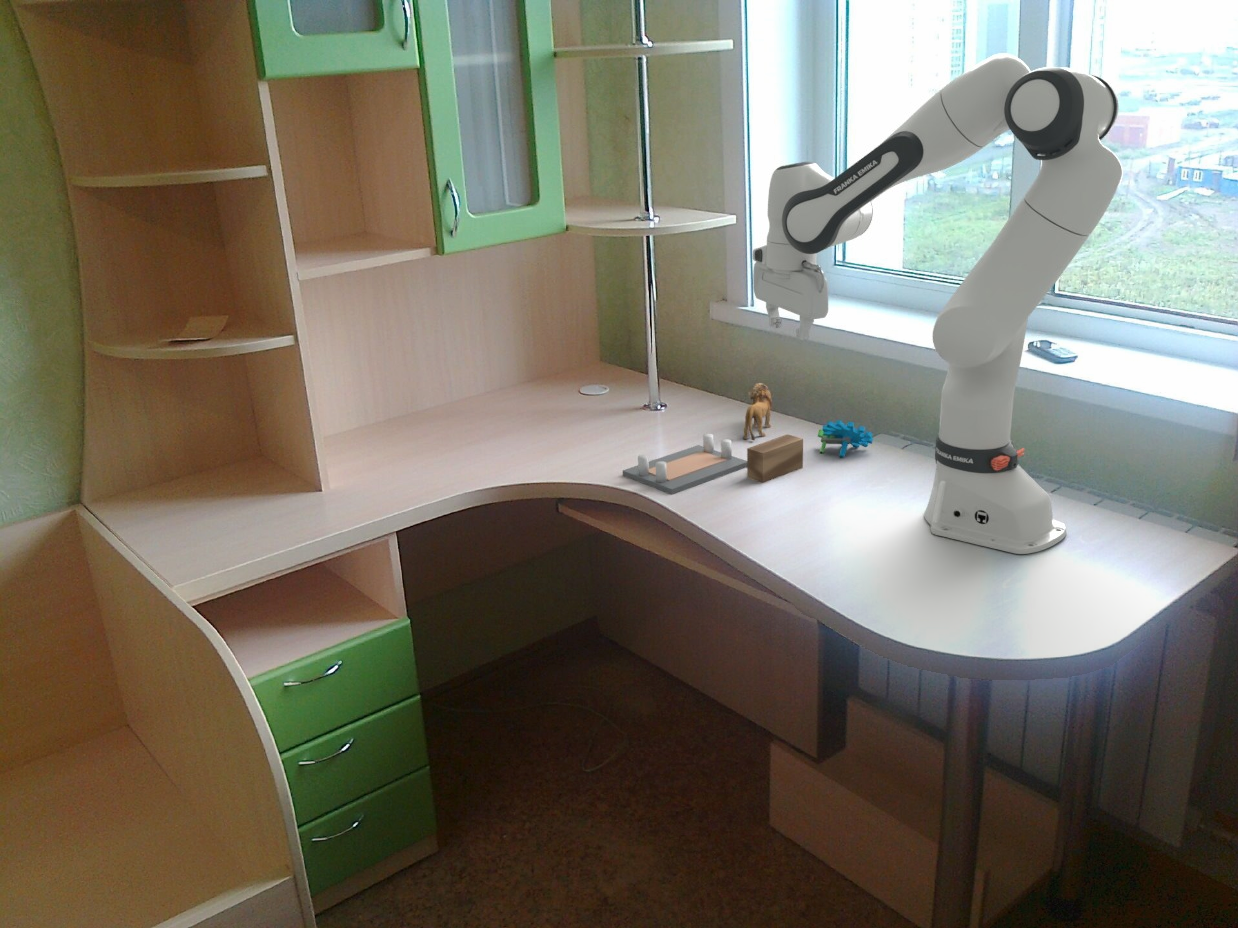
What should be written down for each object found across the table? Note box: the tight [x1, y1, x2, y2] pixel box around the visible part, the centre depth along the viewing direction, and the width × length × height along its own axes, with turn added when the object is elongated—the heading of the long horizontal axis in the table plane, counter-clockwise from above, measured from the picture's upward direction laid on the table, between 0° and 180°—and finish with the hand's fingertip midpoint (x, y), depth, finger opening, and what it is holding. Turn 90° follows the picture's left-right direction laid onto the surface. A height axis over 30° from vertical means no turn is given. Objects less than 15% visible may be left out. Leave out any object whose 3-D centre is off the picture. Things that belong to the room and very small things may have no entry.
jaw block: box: [746, 434, 804, 484], centre depth 206 cm, size 4×11×6 cm, turn 130°
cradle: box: [622, 433, 747, 495], centre depth 209 cm, size 14×20×4 cm
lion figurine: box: [743, 382, 773, 441], centre depth 229 cm, size 15×5×9 cm, turn 168°
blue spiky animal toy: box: [817, 419, 874, 458], centre depth 214 cm, size 11×6×10 cm
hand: (788, 333), depth 198 cm, fingers open, 8 cm apart
